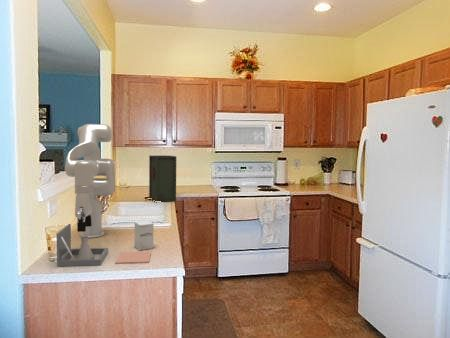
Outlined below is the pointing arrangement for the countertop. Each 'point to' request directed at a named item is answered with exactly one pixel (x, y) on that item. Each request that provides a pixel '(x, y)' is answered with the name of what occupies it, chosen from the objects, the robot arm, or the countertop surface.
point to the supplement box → (144, 235)
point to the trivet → (133, 257)
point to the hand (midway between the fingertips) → (84, 228)
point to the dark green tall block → (162, 178)
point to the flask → (85, 249)
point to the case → (74, 251)
